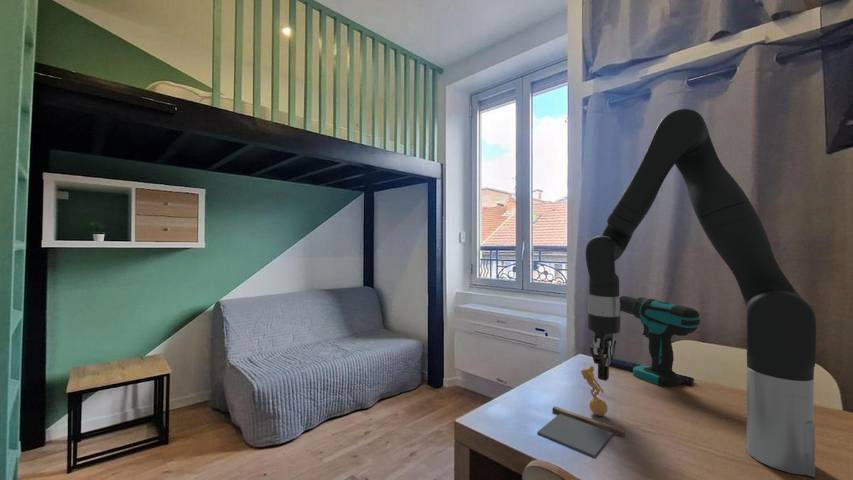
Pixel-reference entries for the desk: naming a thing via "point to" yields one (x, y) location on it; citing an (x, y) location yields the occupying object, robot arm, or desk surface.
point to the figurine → (595, 404)
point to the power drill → (660, 335)
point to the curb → (590, 421)
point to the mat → (576, 434)
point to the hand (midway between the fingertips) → (603, 379)
